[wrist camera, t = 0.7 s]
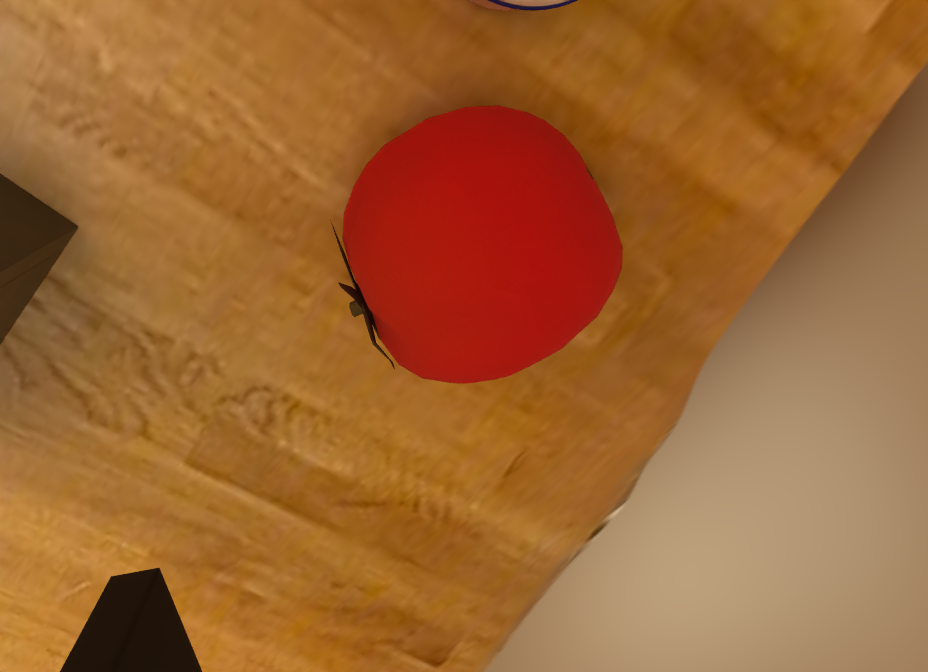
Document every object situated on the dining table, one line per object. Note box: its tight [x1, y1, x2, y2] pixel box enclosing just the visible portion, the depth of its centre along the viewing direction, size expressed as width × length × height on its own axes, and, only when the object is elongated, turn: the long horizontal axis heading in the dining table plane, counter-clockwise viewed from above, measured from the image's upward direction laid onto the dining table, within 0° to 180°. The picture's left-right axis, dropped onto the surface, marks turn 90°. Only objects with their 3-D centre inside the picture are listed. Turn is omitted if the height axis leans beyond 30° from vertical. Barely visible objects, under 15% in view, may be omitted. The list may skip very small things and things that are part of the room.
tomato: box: [330, 106, 623, 383], centre depth 36 cm, size 13×13×13 cm
